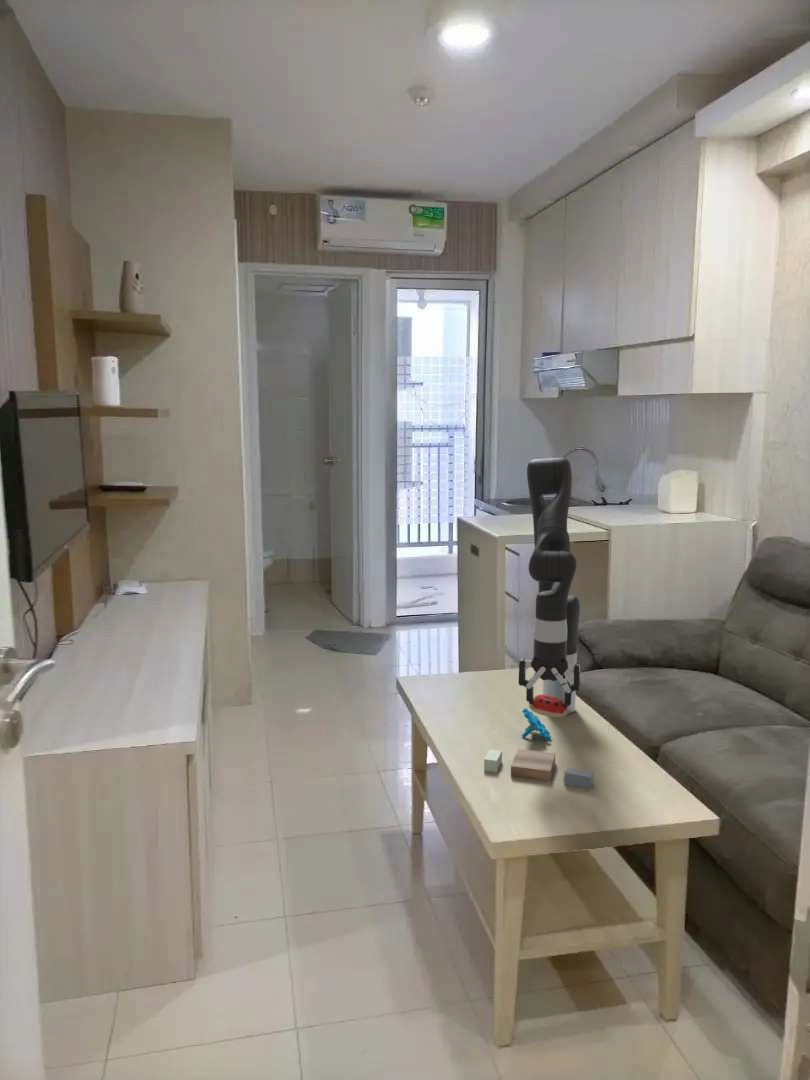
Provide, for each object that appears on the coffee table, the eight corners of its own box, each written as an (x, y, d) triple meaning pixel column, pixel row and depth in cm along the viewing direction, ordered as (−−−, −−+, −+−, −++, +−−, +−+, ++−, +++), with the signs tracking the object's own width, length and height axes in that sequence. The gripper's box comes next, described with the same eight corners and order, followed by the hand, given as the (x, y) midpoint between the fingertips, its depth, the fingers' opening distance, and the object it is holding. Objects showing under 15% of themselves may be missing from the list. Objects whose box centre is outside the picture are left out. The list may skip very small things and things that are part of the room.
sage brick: (489, 760, 194) (489, 749, 193) (501, 762, 193) (502, 750, 192) (484, 771, 188) (484, 759, 188) (496, 772, 187) (496, 760, 187)
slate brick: (564, 785, 181) (564, 772, 180) (566, 779, 184) (567, 767, 183) (590, 790, 179) (591, 777, 178) (593, 784, 181) (593, 772, 181)
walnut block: (517, 760, 194) (518, 749, 194) (555, 765, 192) (555, 753, 191) (510, 778, 185) (510, 766, 185) (549, 783, 182) (550, 771, 182)
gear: (553, 740, 201) (525, 711, 202) (536, 756, 202) (508, 726, 203) (553, 730, 212) (527, 702, 213) (536, 744, 213) (510, 716, 214)
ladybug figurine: (537, 703, 193) (538, 689, 192) (574, 713, 186) (574, 699, 186) (522, 711, 188) (523, 696, 187) (559, 722, 181) (559, 707, 181)
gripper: (583, 635, 185) (581, 702, 187) (522, 630, 189) (520, 696, 191) (580, 643, 178) (578, 714, 180) (516, 638, 182) (515, 707, 184)
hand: (548, 704), depth 186 cm, fingers closed on ladybug figurine, 7 cm apart
